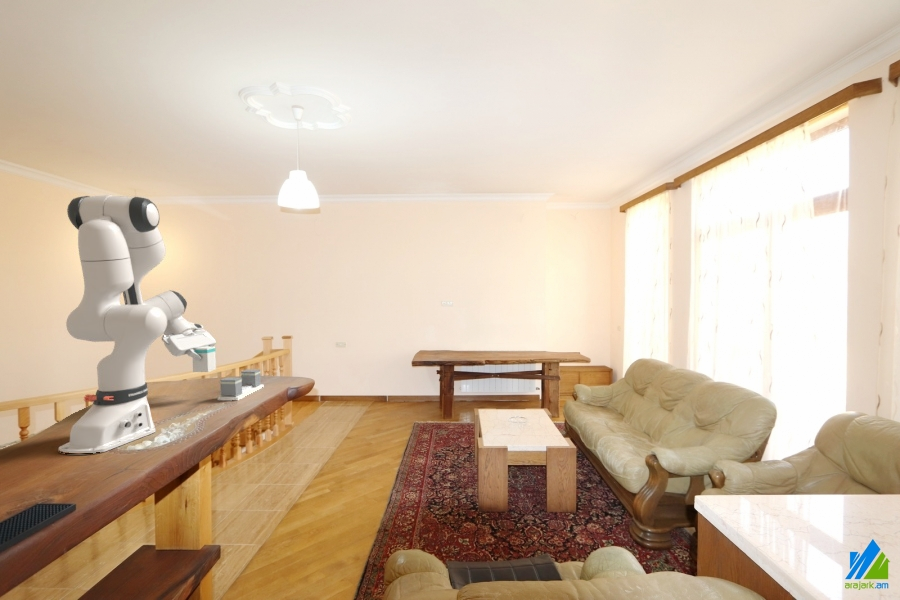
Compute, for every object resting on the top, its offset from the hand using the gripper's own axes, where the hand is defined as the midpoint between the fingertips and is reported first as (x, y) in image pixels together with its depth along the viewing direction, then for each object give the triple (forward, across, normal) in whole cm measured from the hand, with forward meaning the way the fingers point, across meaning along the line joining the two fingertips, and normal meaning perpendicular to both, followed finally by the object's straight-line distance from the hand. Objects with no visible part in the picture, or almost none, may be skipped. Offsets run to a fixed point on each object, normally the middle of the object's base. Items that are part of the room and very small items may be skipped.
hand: (205, 358), depth 153 cm
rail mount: (+18, +8, +5) cm, 20 cm away
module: (+3, 0, +4) cm, 5 cm away
